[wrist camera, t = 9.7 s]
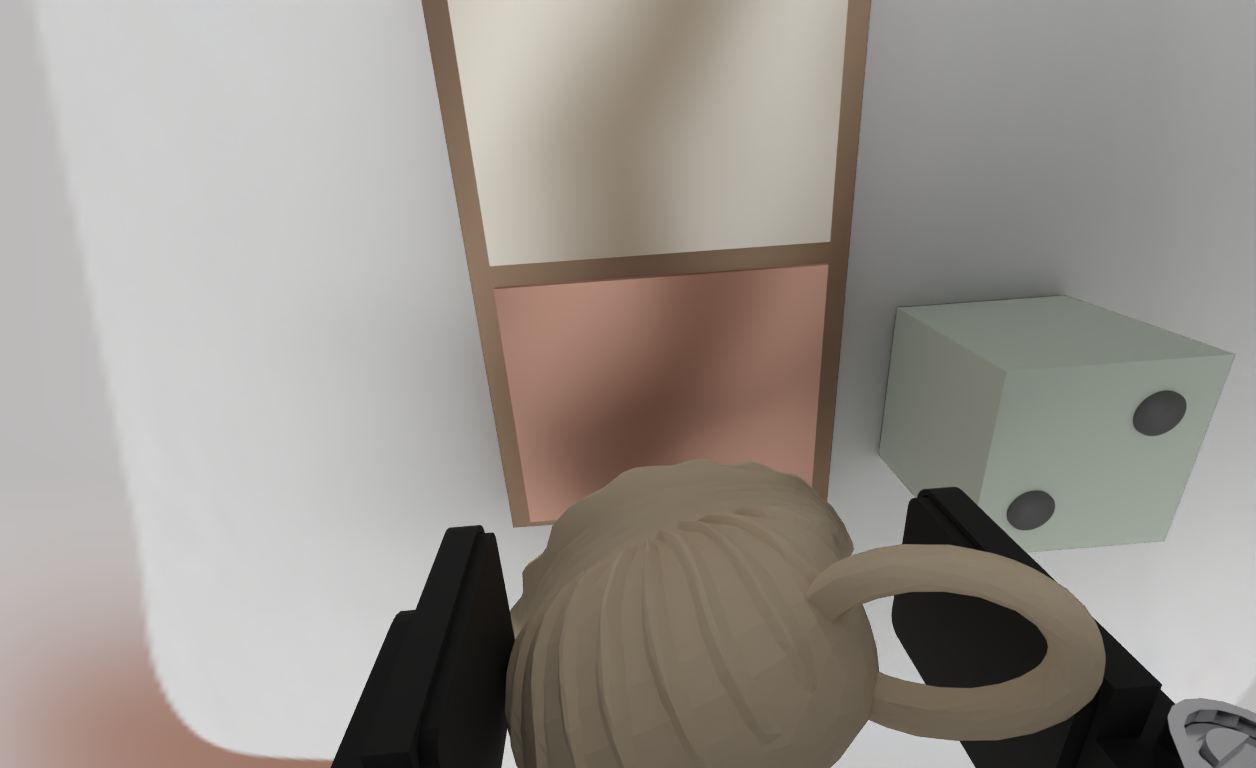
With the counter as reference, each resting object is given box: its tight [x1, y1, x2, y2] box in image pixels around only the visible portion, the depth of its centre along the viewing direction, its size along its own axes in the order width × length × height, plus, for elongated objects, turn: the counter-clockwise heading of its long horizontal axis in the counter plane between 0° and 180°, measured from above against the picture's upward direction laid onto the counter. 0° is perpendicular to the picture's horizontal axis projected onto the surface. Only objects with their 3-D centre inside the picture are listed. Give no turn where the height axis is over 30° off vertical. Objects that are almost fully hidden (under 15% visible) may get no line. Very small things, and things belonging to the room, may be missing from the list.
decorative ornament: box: [505, 459, 1105, 768], centre depth 9 cm, size 4×8×5 cm, turn 118°
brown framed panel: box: [422, 0, 871, 528], centre depth 16 cm, size 10×16×1 cm, turn 4°
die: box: [879, 295, 1235, 552], centre depth 16 cm, size 5×5×5 cm
